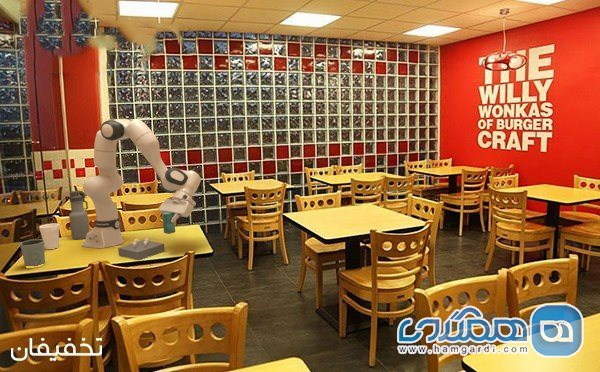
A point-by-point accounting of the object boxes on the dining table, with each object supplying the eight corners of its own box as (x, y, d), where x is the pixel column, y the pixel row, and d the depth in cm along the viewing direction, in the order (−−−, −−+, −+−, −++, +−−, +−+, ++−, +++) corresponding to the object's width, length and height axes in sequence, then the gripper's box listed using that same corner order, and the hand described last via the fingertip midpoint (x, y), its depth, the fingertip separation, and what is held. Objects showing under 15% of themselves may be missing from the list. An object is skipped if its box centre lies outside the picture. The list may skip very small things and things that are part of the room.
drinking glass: (36, 261, 227) (32, 238, 225) (52, 262, 224) (49, 239, 222) (18, 268, 217) (14, 244, 215) (35, 269, 215) (31, 245, 213)
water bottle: (82, 234, 276) (76, 189, 271) (94, 235, 272) (88, 189, 267) (68, 239, 266) (62, 192, 262) (80, 240, 263) (74, 193, 258)
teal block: (163, 233, 229) (162, 213, 227) (170, 231, 232) (168, 212, 231) (169, 234, 227) (167, 214, 225) (175, 232, 230) (173, 212, 228)
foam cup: (41, 252, 243) (38, 228, 241) (43, 247, 251) (40, 224, 249) (61, 249, 247) (58, 226, 244) (62, 244, 255) (59, 222, 253)
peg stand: (118, 255, 231) (117, 242, 230) (145, 247, 244) (143, 234, 243) (138, 260, 222) (137, 246, 221) (164, 251, 235) (163, 238, 234)
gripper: (164, 193, 238) (150, 215, 232) (191, 197, 227) (177, 220, 220) (171, 200, 242) (158, 222, 236) (198, 204, 231) (185, 227, 225)
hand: (167, 221), depth 228 cm, fingers closed on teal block, 4 cm apart
